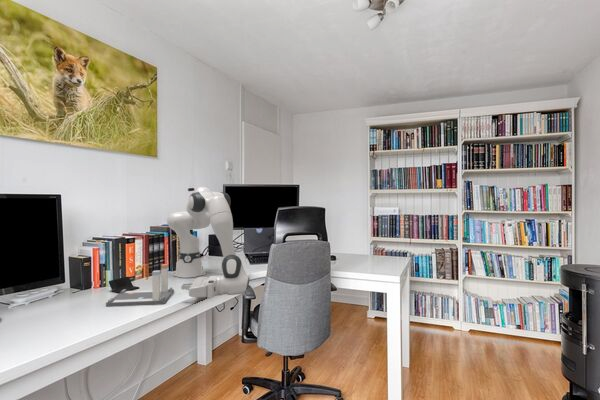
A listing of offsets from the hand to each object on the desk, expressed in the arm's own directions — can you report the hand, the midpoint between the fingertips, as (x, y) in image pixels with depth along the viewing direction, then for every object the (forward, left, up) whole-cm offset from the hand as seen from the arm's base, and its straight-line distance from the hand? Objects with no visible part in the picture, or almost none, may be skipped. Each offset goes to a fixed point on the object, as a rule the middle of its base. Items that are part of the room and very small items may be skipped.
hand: (182, 286), depth 145 cm
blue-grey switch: (0, -11, -5) cm, 12 cm away
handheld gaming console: (-24, -33, -7) cm, 41 cm away
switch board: (-7, -19, -7) cm, 21 cm away
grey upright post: (-14, -11, -5) cm, 18 cm away
